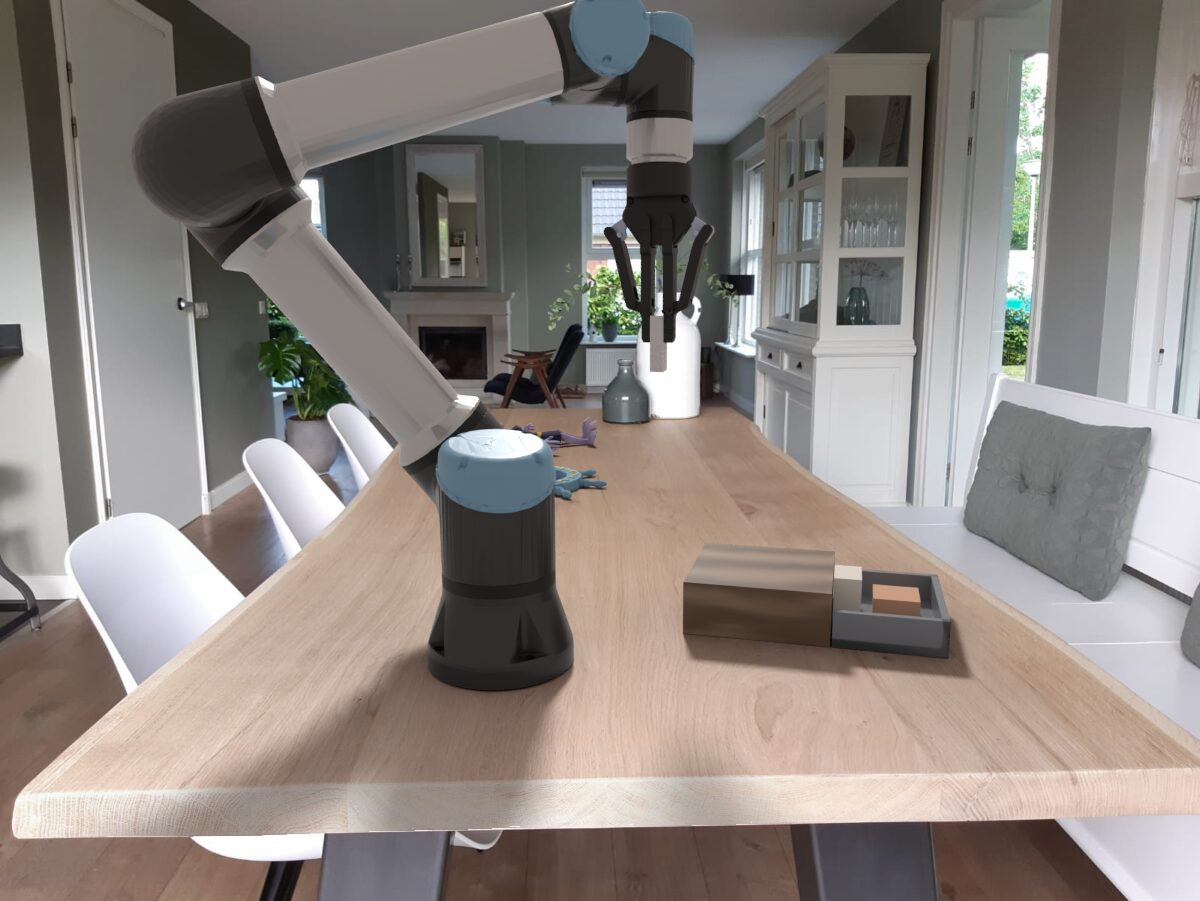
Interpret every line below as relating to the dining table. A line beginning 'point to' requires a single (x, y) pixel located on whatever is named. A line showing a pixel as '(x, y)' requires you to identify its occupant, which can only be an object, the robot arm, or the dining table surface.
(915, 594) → the orange square block
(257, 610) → the dining table surface
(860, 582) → the off-white block
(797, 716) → the dining table surface
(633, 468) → the dining table surface
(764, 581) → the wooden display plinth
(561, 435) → the toy
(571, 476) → the decorative ship wheel
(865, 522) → the dining table surface
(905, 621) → the box
